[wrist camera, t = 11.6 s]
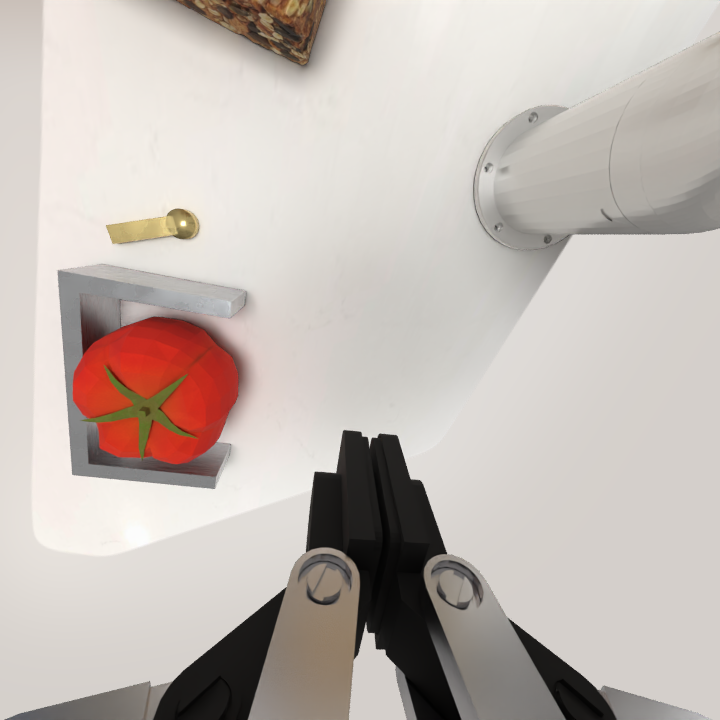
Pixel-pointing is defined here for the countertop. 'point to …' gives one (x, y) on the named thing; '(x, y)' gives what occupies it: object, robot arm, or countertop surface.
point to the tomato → (156, 390)
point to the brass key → (156, 227)
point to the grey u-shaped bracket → (102, 316)
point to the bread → (268, 22)
